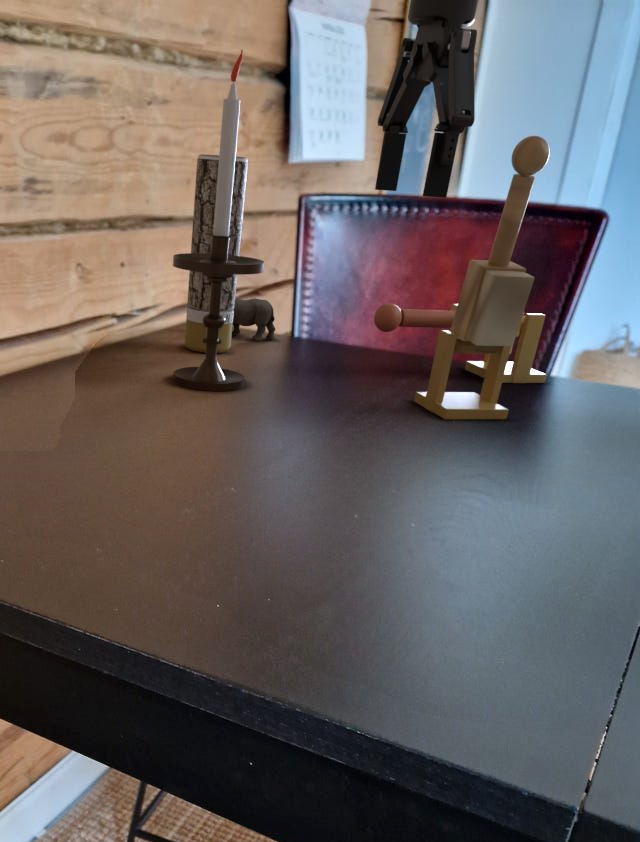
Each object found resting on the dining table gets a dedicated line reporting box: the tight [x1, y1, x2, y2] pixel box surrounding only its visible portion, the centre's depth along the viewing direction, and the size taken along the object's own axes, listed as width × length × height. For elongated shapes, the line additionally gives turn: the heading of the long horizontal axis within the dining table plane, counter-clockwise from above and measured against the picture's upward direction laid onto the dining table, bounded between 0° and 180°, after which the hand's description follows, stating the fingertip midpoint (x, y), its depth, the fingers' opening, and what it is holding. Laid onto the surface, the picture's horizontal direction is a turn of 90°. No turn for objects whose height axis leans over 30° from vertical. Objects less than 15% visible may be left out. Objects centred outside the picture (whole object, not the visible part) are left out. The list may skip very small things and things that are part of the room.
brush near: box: [451, 135, 550, 354], centre depth 93 cm, size 22×5×6 cm
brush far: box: [373, 302, 526, 355], centre depth 117 cm, size 22×5×6 cm, turn 102°
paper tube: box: [184, 153, 249, 354], centre depth 120 cm, size 7×7×25 cm
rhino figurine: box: [231, 296, 276, 342], centre depth 136 cm, size 4×14×6 cm, turn 68°
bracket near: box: [413, 329, 511, 420], centre depth 101 cm, size 8×8×9 cm
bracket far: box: [464, 312, 548, 384], centre depth 120 cm, size 8×8×9 cm
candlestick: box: [172, 49, 265, 392], centre depth 100 cm, size 11×11×35 cm
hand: (408, 193), depth 107 cm, fingers open, 13 cm apart
